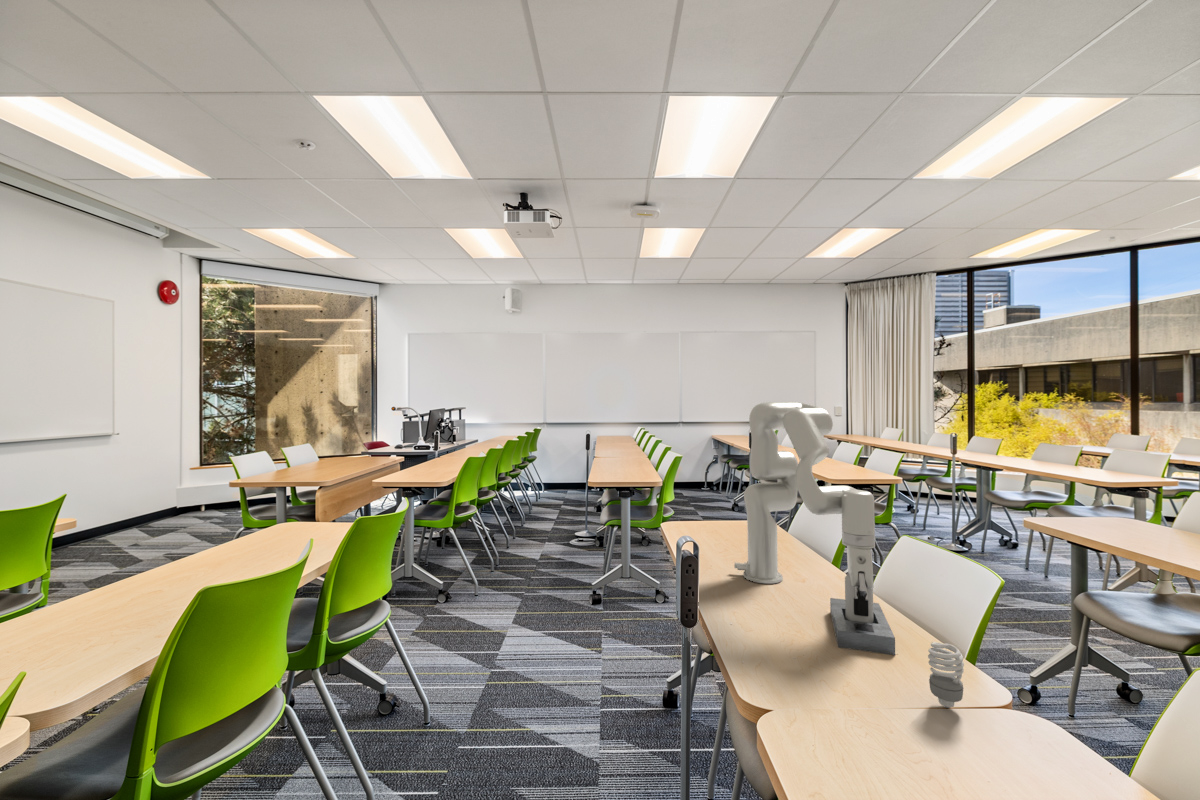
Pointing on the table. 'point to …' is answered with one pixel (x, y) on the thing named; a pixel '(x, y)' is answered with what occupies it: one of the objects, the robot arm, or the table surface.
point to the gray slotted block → (862, 630)
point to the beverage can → (850, 602)
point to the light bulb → (946, 674)
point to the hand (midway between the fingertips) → (859, 609)
